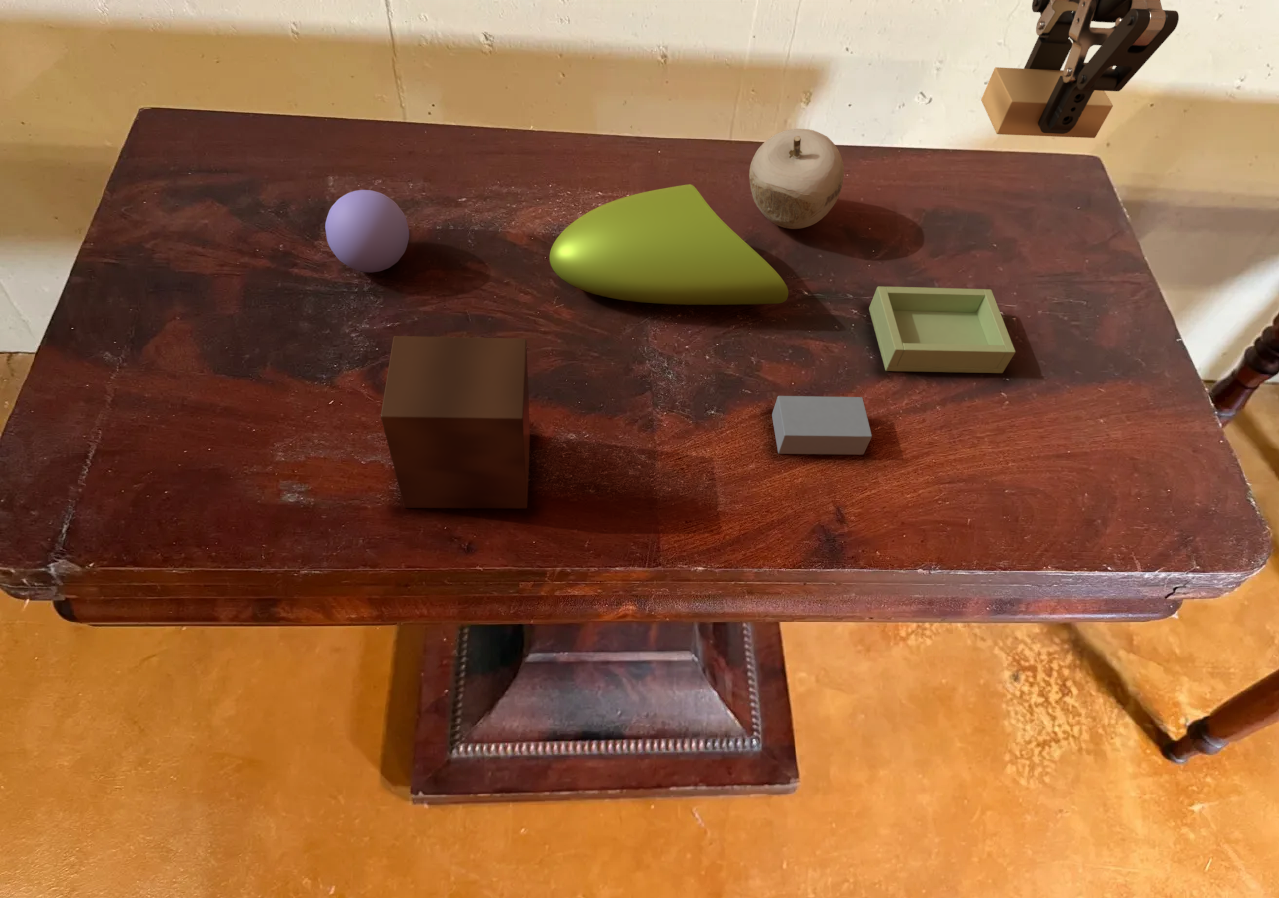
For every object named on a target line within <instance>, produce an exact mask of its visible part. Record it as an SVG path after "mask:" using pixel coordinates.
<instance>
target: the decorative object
mask: <svg viewBox="0 0 1279 898" xmlns="http://www.w3.org/2000/svg"><path fill="white" fill-rule="evenodd" d="M754 153H755V154H754V155H753V157H752V159H751V162H750V166H749V170H748V171H749V177H748V179H749V186H750V191H751V196H752V199H753V201H754V203H755V205H756V207H757V209H758V210H759V211H760V213H761V214H762V215H763V216H764V218H766V220H768V221H769V222H771V223H772V224H773V225H776V226H778V227H781V228H784V229H789V230H798V229H804V228H808V227H812V226H813V225H815V224H817V223H818V222H819V221H821V220H823V218H824V217H826V216H827V215H828V214H829V213H830V211H831V210H832V208H833V207H834V206H835V204H836V203H837V201H838V199H839V197H840V194H841V192H842V187H843V184H844V178H845V166H844V165H845V164H844V161H843V157H842V155H841V153H840V150H839V148H838V147H837V146H836V144H835V143H834V142H833V141H832V140H831V139H830V138H829V136H827V135H825V134H823V133H821V132H819V131H816V130H814V129H808V128H790V129H786V130H783V131H780V132H777V133H775V134H774V135H771V137H769V138H767V140H765V141H764V142H763V143H762V144H761V145H760V146H759V147H758V149H757V150H756V152H754Z"/></svg>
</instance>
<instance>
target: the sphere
mask: <svg viewBox="0 0 1279 898" xmlns="http://www.w3.org/2000/svg"><path fill="white" fill-rule="evenodd" d="M324 224H325V226H324V228H325V236H326V242H327V244H328V247H329V249H330V250H331V252H332V253H333V254H334V256H335V257H336V258H337V260H338V261H339V262H341V264H344V265H345V266H347V267H349V268H350V269H352V270H355V271H358V272H361V273H378V272H382V271H385V270H387V269H390V268H391V267H393V266H394V265H396V264H397V263H399V261H400V260H401V258H403V256H404V254H405V253H406V252H407V251H406V250H407V248H408V245H409V240H410V229H409V225H408V220H407V217H406V215H405V213H404V212H403V210H402V209H401V207H400V206H399V205H398V204H397V203H396V201H394V199H392V198H391V197H389V196H387V195H385V194H383V193H381V192H379V191H375V190H371V189H359V190H353V191H350V192H348V193H347V192H346V193H345V194H343V195H342V196H341V197H339V198H338V199H337V200H336V201H335V202H334V203H333V205H331V207H330V209H329V211H328V213H327V217H326V220H325V223H324Z"/></svg>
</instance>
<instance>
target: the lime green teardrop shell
mask: <svg viewBox="0 0 1279 898" xmlns="http://www.w3.org/2000/svg"><path fill="white" fill-rule="evenodd" d="M549 264H550V266H551V268H552V270H553V271H554V273H555V274H556V275H557V276H558V277H559V278H560V279H561V280H563V281H564V282H565V283H567V284H568V285H570V286H572V287H574V288H577V289H579V290H581V291H583V292H586V293H589V294H592V295H596V296H600V297H603V298H608V299H613V300H619V301H620V300H621V301H626V302H634V303H644V304H645V303H646V304H658V305H660V304H661V305H683V306H684V305H685V306H686V305H688V306H691V305H692V306H721V305H722V306H726V305H727V306H730V305H738V306H739V305H776V304H783V303H785V302H786V301H787V299H788V297H789V288H788V286H787V284H786V283H785V282H786V281H784V280H783V278H782V277H781V276H780V274H779V273H778V272H777V271H776V270H775V269H774V268H773V267H772V266H771V265H770V263H768V262H767V260H765V259H764V257H762V256H761V255H760V254H759V253H758V252H757V251H756V250H754V249H753V248H752V247H751V246H750V245H749V244H748V243H746V241H745V240H743V239H742V238H741V237H740V236H739V235H738V234H737V233H736V232H735V231H733V229H731V228H730V227H729V226H728V225H727V224H726V222H725V221H723V220H722V219H721V218H720V217H719V215H718V214H717V213H716V212H715V211H714V210H713V209H712V207H710V205H709V204H708V203H707V201H706V199H704V197H703V196H702V194H701V193H700V192H699V191H698V189H697V188H696V187H695V186H694V184H691V183H689V184H681V185H676V186H670V187H665V188H658V189H653V190H649V191H643V192H639V193H635V194H631V195H628V196H624V197H621V198H617V199H615V200H612V201H609V202H607V203H603V204H602V205H600V206H598V207H596V208H593V209H592V210H590V211H588V212H586V213H584V214H583V215H581V216H580V217H578V218H577V219H575V220H574V221H573V222H571V223H570V224H569V225H568V226H566V228H565V229H563V231H561V233H560V234H559V235H558V236H557V237H556V238H555V241H554V242H553V244H552V245H551V248H550V251H549Z"/></svg>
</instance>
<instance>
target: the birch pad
mask: <svg viewBox="0 0 1279 898" xmlns="http://www.w3.org/2000/svg"><path fill="white" fill-rule="evenodd" d="M1063 71H1064V69H1063V70H1062V69H1061V70H1042V69H1024V68H1022V67H1021V68H1020V67H1019V68H1017V67H996V66H995V67H994V69H993V70H992V73H991V75H990V77H989V80H988V83H987V85H986V87H985V89H984V92H983V94H982V97H981V103H982V105H983V107H984V109H985V110H984V111H986V114H987V116H988V118H989V121H990V123H991V125H992V127H993V130H994V131H995V133H996V135H1003V136H1004V135H1006V136H1030V137H1031V136H1033V137H1054V138H1055V137H1059V138H1061V137H1062V138H1081V139H1082V138H1085V139H1095V138H1097V135H1098V133H1099V132H1100V130H1101V128H1102V126H1103V125H1104V123H1105V121H1106V120H1107V117H1108V115H1109V114H1110V112H1111V110H1112V109H1113V107H1114V105H1113V103H1112V101H1111V100H1110V98H1109V96H1108V94H1107V93H1106V91H1097V90H1094V92H1093V93H1092V95H1091V97H1090V99H1089V101H1088V103H1087V105H1086V106H1085V108H1084V110H1083V112H1082V114H1081V116H1080V117H1079V119H1078V121H1077V123H1076V125H1075V126H1074V127H1073V129H1072V130H1071V131H1069V132H1068V133H1065V134H1054V133H1043V132H1042V131H1041V130H1040V128H1039V126H1038V121H1039V119H1040V117H1041V115H1042V113H1043V111H1044V109H1045V107H1046V105H1047V102H1048V100H1049V98H1050V96H1051V94H1052V92H1053V90H1054V87H1055V85H1056V83H1057V81H1058V79H1059V77H1060V76H1063Z"/></svg>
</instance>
